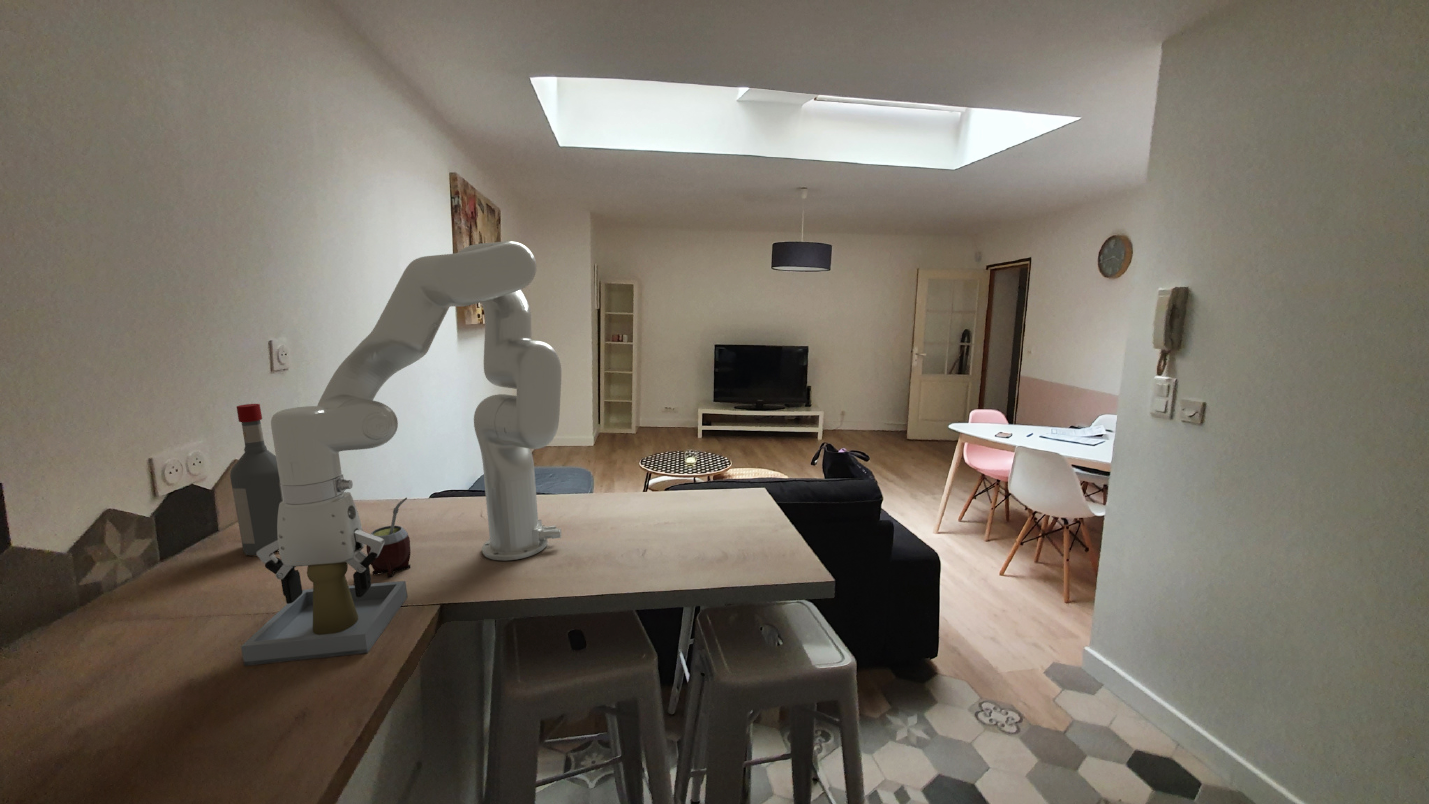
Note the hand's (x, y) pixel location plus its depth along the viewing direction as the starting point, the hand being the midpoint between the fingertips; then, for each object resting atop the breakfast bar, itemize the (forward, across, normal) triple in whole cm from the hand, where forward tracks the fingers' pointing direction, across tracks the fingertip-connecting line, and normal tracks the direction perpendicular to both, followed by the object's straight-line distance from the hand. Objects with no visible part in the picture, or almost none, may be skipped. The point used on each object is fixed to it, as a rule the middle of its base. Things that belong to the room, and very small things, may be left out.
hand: (329, 595), depth 89 cm
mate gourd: (+6, -2, -19) cm, 20 cm away
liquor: (+6, +28, -36) cm, 46 cm away
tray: (+5, 0, 0) cm, 5 cm away
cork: (+5, 0, 0) cm, 5 cm away
